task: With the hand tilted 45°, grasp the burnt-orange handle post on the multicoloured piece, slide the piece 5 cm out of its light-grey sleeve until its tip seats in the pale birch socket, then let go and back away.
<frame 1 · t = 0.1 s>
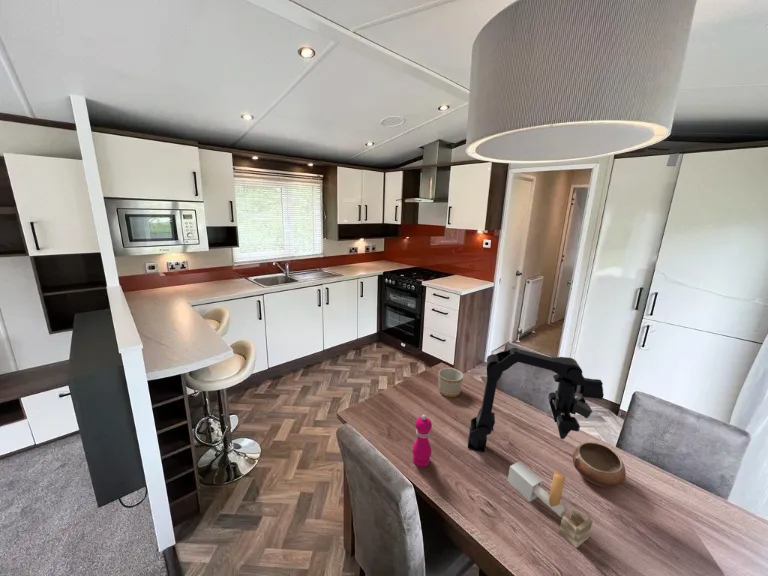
hand: (559, 430, 114), 15 cm above the table, tool pointing down, fingers open, 9 cm apart
end socket: (575, 526, 90), on the table
planter: (449, 392, 162), on the table
multicoloured piece: (541, 480, 99), point 9 cm above the table, slide at 0.0 cm
outer sleeve: (524, 480, 105), on the table
pepper mill: (421, 460, 117), on the table
bowl: (595, 476, 112), on the table
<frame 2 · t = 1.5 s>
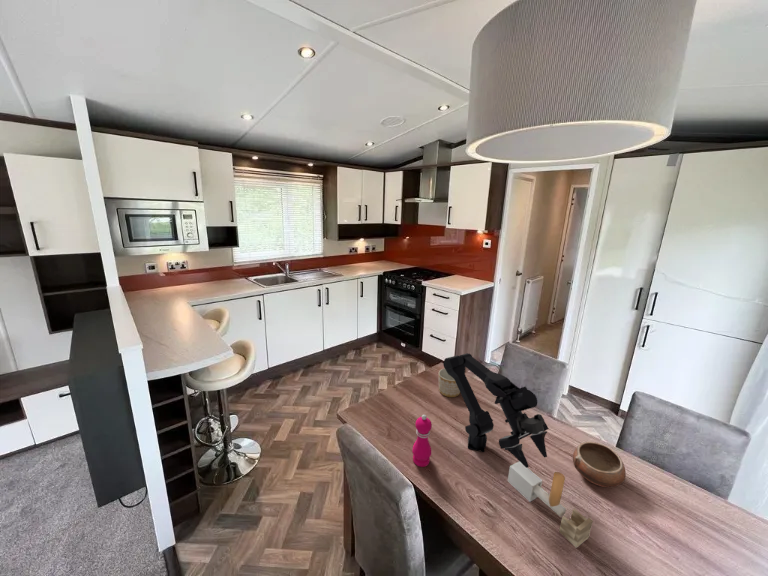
hand: (536, 462, 100), 13 cm above the table, tool tilted 45°, fingers open, 9 cm apart
nothing on the table moved.
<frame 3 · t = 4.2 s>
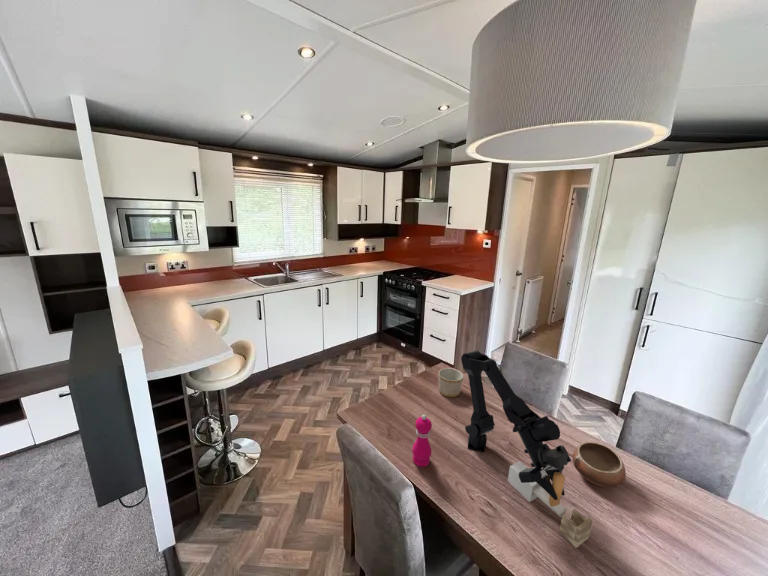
hand: (559, 497, 94), 8 cm above the table, tool tilted 45°, fingers closed on multicoloured piece, 3 cm apart
multicoloured piece: (541, 480, 99), point 9 cm above the table, slide at 0.0 cm, touching gripper
everything else where it was.
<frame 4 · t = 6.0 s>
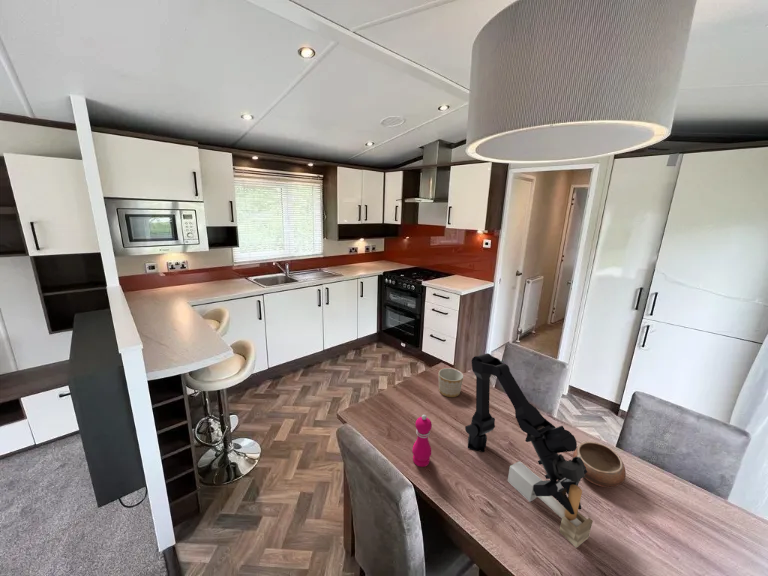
hand: (576, 511, 90), 8 cm above the table, tool tilted 45°, fingers closed on multicoloured piece, 3 cm apart
multicoloured piece: (556, 492, 95), point 9 cm above the table, slide at 5.1 cm, touching gripper
everything else where it was.
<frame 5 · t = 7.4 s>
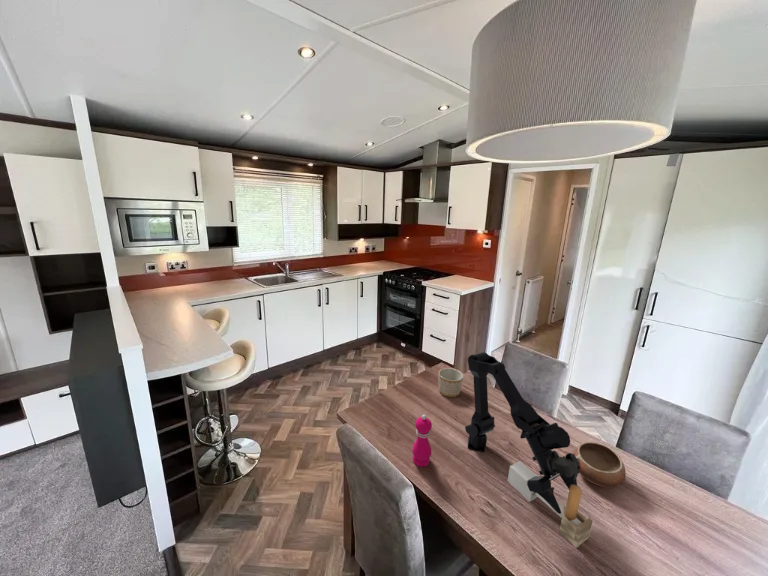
hand: (569, 506, 91), 8 cm above the table, tool tilted 45°, fingers open, 9 cm apart
multicoloured piece: (556, 492, 95), point 9 cm above the table, slide at 5.1 cm
everything else where it was.
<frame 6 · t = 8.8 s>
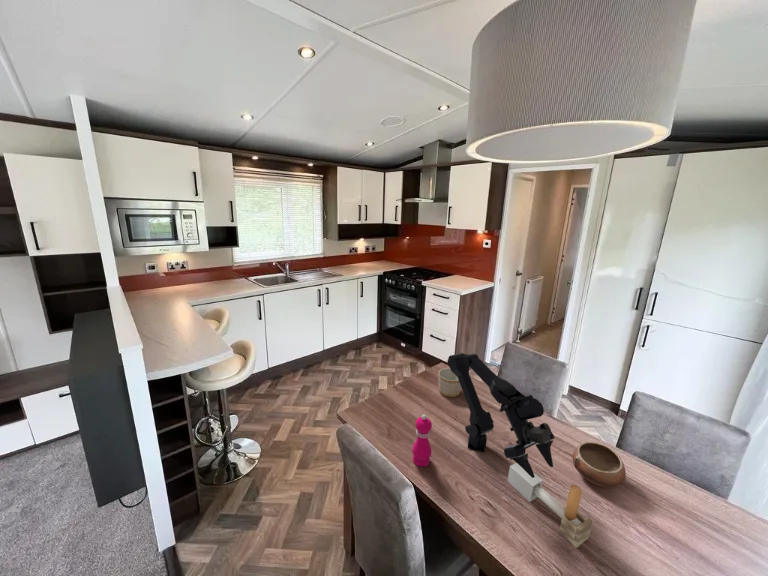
hand: (542, 472, 98), 12 cm above the table, tool tilted 45°, fingers open, 9 cm apart
nothing on the table moved.
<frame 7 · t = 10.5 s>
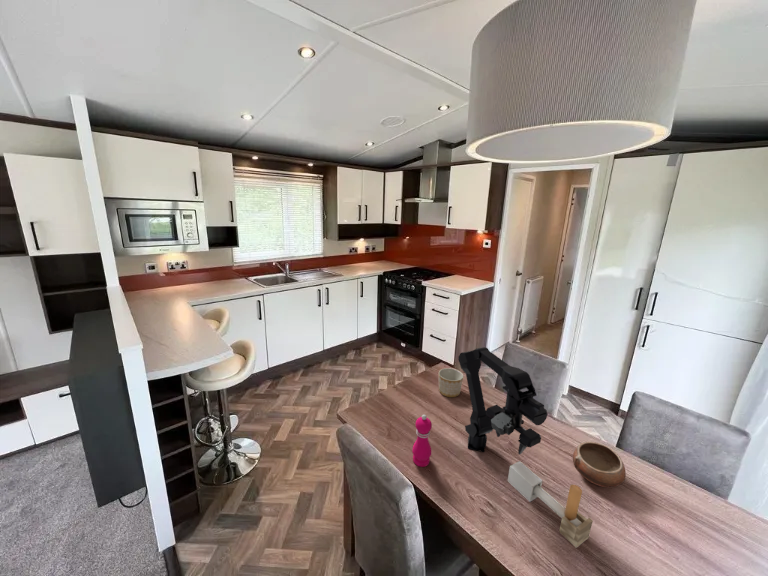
hand: (508, 444, 108), 13 cm above the table, tool pointing down, fingers open, 9 cm apart
nothing on the table moved.
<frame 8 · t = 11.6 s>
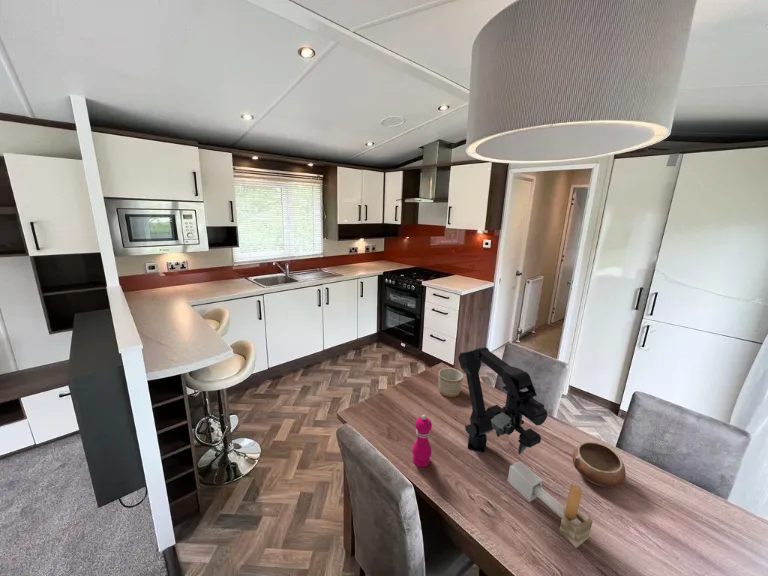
hand: (508, 444, 108), 13 cm above the table, tool pointing down, fingers open, 9 cm apart
nothing on the table moved.
at the end: multicoloured piece slide at 5.1 cm; the gripper is holding nothing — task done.
